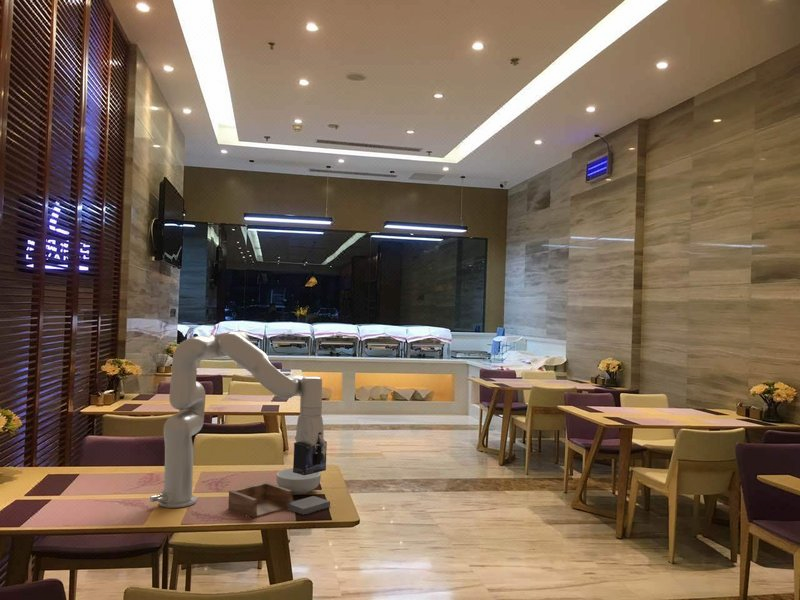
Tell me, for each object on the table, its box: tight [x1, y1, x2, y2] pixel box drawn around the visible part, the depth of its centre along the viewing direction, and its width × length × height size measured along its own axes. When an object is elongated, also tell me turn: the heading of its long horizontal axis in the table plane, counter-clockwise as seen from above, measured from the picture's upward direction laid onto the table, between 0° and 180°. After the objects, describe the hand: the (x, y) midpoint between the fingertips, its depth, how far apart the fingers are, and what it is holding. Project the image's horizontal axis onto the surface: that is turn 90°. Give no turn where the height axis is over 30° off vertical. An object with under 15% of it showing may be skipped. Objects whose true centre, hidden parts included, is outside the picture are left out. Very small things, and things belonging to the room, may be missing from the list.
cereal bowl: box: [276, 467, 322, 495], centre depth 232 cm, size 17×17×7 cm
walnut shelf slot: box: [228, 481, 293, 519], centre depth 211 cm, size 16×14×6 cm
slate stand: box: [286, 495, 331, 516], centre depth 213 cm, size 12×9×2 cm
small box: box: [292, 440, 328, 475], centre depth 213 cm, size 11×6×10 cm, turn 141°
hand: (309, 462), depth 213 cm, fingers closed on small box, 6 cm apart
